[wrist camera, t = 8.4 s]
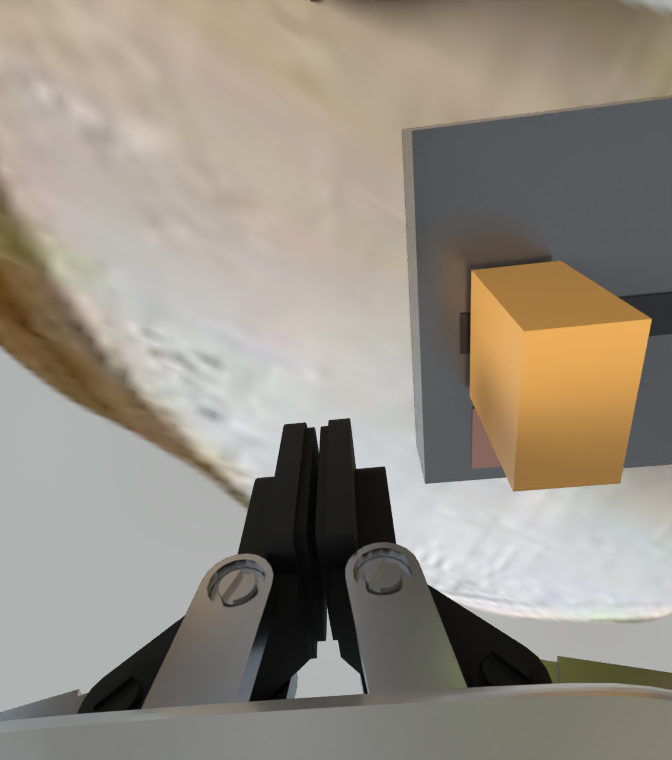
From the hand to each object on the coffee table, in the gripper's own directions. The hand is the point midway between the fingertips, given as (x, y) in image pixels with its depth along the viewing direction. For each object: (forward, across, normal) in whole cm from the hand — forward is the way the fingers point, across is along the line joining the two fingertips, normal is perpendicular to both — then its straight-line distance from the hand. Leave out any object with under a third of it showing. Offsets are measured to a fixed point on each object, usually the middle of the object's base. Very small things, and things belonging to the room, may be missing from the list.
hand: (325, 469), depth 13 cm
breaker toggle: (+7, -7, 0) cm, 9 cm away
